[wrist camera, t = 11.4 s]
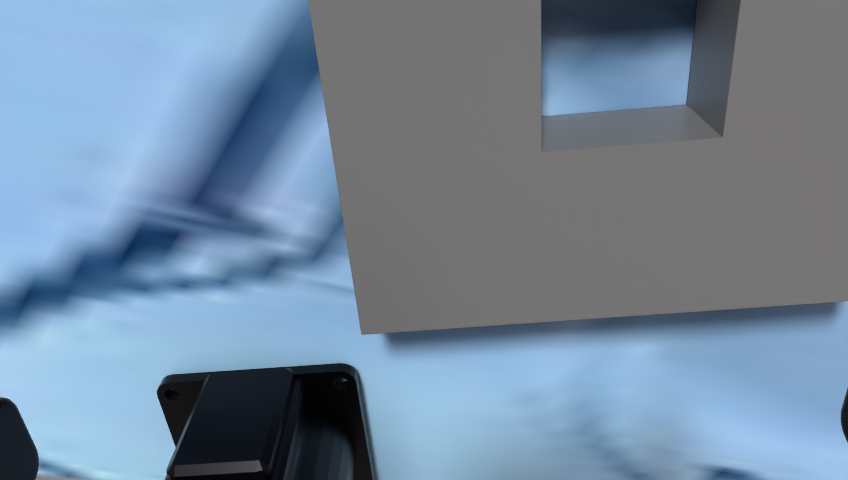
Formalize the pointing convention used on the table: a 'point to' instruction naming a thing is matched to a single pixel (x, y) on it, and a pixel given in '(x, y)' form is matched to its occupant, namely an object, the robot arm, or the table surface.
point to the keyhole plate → (583, 168)
